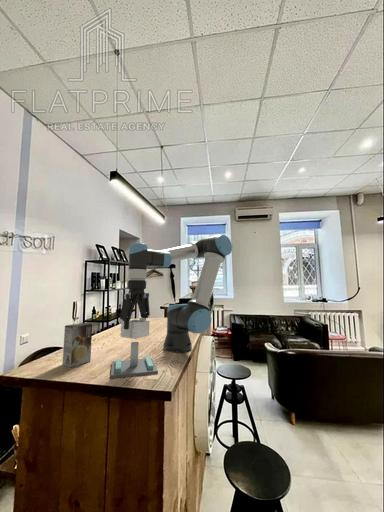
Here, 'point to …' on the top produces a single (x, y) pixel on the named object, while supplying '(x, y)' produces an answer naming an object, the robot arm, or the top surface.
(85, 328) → the coffee box
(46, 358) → the top surface
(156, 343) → the top surface
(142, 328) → the collar
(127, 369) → the board
